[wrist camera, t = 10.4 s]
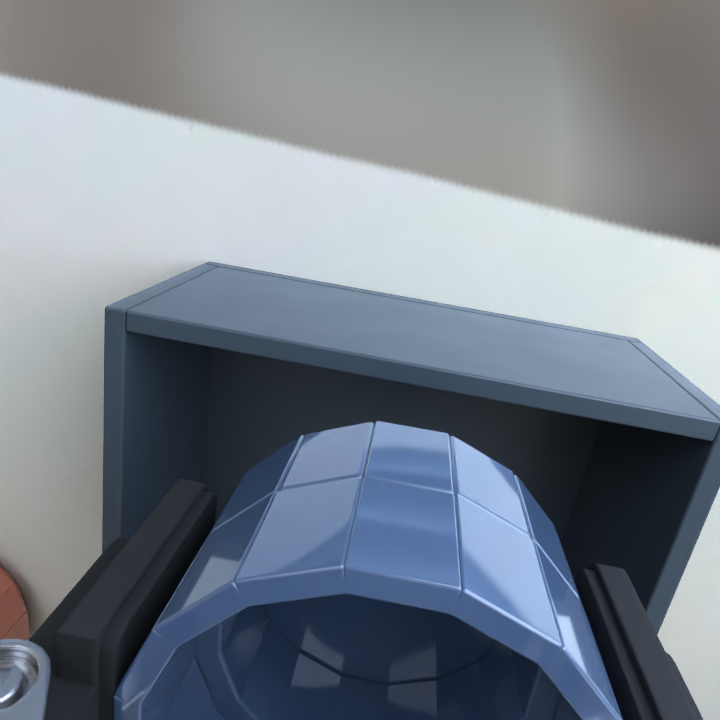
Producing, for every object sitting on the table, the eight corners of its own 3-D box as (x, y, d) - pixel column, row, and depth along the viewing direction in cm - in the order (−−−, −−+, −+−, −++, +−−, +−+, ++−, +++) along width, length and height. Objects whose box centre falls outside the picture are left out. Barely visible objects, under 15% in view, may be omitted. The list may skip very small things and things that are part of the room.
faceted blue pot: (158, 520, 12) (12, 712, 8) (426, 342, 10) (424, 467, 6) (353, 733, 13) (317, 997, 9) (622, 610, 11) (737, 869, 7)
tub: (184, 599, 24) (99, 752, 17) (208, 261, 19) (103, 306, 13) (526, 672, 23) (563, 858, 17) (638, 338, 18) (746, 425, 12)
